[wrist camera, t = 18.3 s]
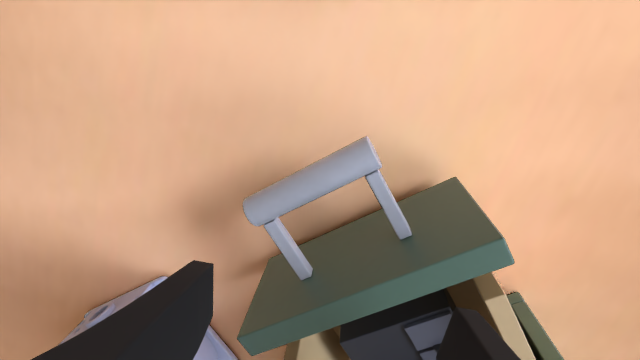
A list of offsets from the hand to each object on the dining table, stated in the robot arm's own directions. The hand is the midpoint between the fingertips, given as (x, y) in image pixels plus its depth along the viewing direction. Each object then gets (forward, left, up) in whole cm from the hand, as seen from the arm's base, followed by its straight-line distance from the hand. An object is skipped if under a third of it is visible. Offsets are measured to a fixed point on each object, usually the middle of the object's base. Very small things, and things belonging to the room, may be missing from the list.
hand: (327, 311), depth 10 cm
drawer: (+6, 0, -8) cm, 10 cm away
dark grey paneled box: (+7, 0, -7) cm, 10 cm away
